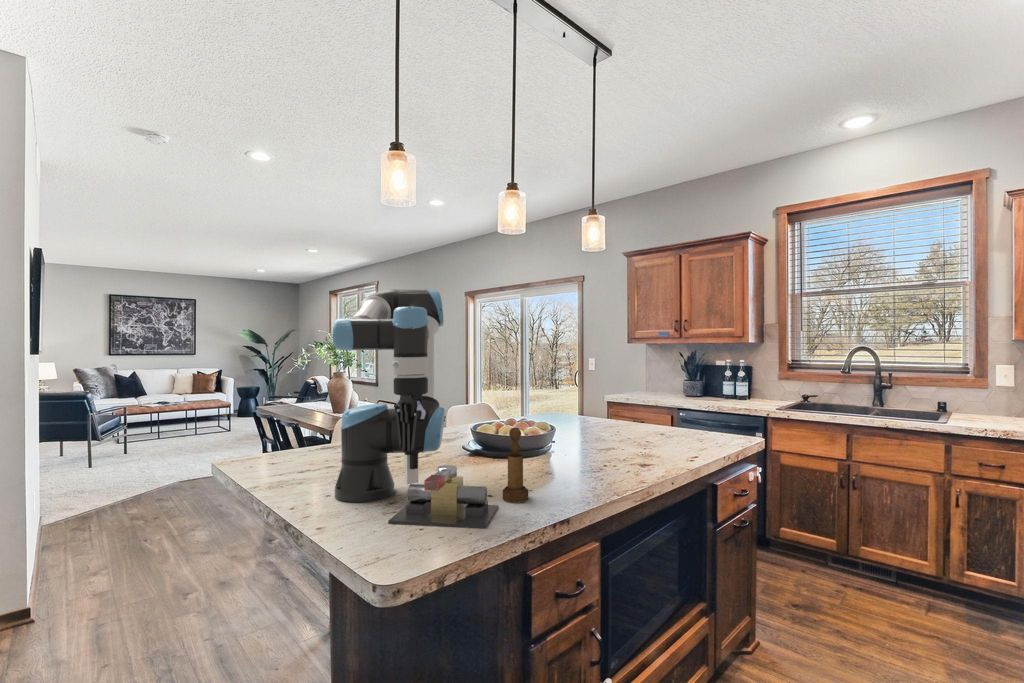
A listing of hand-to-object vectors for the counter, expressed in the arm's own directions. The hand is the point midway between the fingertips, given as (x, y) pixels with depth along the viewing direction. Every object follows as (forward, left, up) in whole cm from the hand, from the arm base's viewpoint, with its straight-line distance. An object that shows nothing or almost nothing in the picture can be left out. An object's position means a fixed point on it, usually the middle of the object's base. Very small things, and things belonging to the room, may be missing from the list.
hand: (411, 482), depth 113 cm
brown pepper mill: (+20, +20, -9) cm, 30 cm away
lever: (+6, +2, 0) cm, 7 cm away
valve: (+6, +5, -9) cm, 12 cm away
